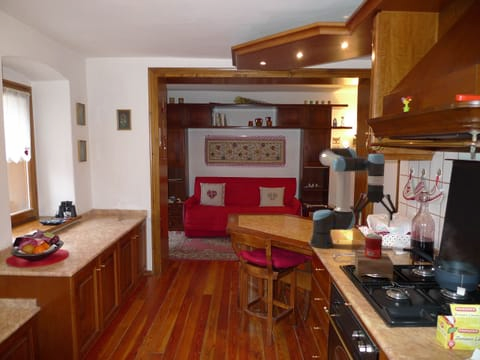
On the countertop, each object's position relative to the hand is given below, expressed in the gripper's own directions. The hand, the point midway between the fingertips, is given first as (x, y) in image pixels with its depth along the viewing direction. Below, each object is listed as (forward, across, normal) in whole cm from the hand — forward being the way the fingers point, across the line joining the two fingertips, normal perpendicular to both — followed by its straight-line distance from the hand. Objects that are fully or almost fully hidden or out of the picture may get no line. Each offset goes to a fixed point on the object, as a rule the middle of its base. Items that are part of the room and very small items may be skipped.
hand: (374, 225), depth 162 cm
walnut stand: (+24, 0, 0) cm, 24 cm away
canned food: (+16, 0, 0) cm, 16 cm away
